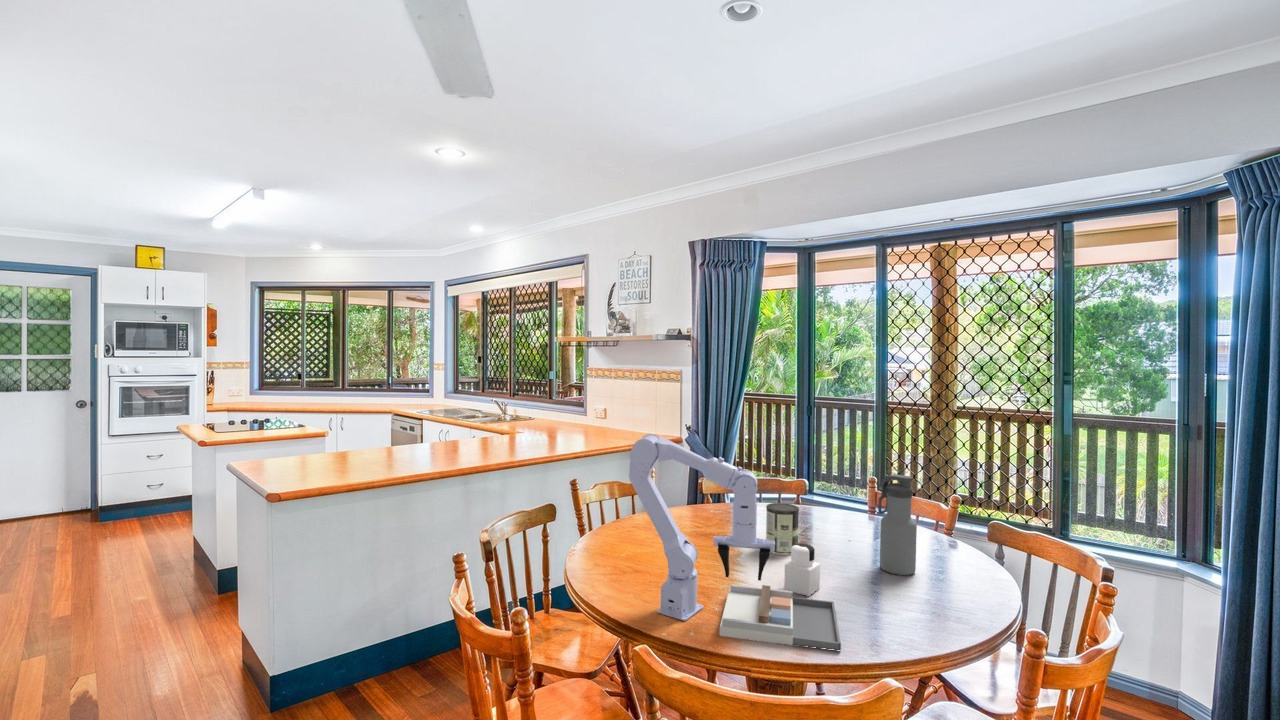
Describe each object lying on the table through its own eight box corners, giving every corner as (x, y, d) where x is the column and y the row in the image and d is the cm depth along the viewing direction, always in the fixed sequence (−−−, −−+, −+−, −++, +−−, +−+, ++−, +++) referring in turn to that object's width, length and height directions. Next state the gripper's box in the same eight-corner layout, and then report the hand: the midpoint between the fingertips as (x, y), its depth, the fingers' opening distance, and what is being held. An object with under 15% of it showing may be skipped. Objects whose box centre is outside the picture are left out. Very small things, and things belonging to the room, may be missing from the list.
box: (792, 645, 131) (792, 637, 131) (792, 604, 152) (792, 597, 152) (840, 652, 128) (840, 643, 128) (833, 608, 150) (833, 601, 150)
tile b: (770, 623, 137) (770, 616, 137) (770, 614, 142) (771, 608, 142) (790, 625, 136) (790, 619, 136) (790, 616, 140) (790, 610, 140)
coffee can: (785, 543, 200) (786, 501, 199) (804, 553, 190) (805, 509, 190) (759, 546, 196) (760, 504, 196) (777, 557, 186) (778, 512, 186)
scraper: (758, 626, 135) (758, 615, 135) (762, 594, 152) (762, 585, 152) (767, 627, 134) (767, 616, 134) (770, 595, 152) (770, 585, 152)
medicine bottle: (795, 582, 167) (796, 539, 166) (819, 589, 162) (821, 545, 162) (783, 589, 161) (784, 545, 161) (809, 597, 157) (810, 551, 156)
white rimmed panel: (719, 635, 135) (719, 620, 135) (729, 596, 156) (729, 583, 156) (792, 645, 131) (793, 629, 131) (792, 604, 152) (792, 590, 152)
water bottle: (872, 569, 177) (875, 475, 177) (886, 561, 184) (888, 471, 184) (907, 579, 170) (910, 481, 170) (920, 570, 177) (923, 476, 176)
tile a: (771, 610, 144) (771, 603, 144) (771, 602, 148) (771, 596, 148) (790, 612, 143) (790, 606, 143) (790, 604, 147) (790, 598, 147)
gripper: (775, 519, 147) (774, 574, 147) (716, 514, 150) (715, 568, 150) (775, 527, 140) (773, 585, 140) (713, 522, 143) (712, 578, 144)
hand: (743, 577), depth 145 cm, fingers open, 7 cm apart
